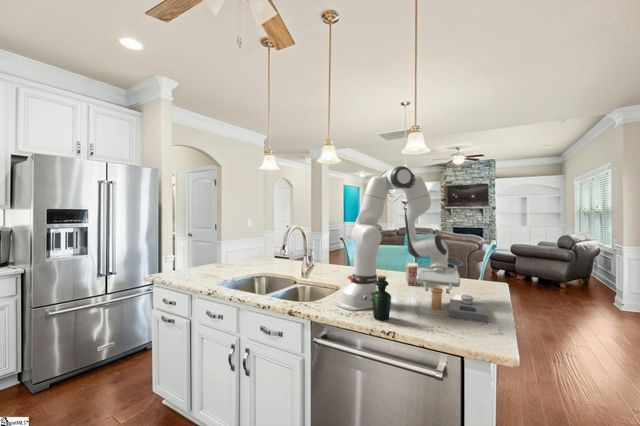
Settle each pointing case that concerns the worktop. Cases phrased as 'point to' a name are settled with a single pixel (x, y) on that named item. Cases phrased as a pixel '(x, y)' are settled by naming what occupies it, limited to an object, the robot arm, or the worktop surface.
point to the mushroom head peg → (436, 298)
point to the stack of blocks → (411, 274)
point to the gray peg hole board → (468, 309)
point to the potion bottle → (381, 300)
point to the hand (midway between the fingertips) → (437, 291)
